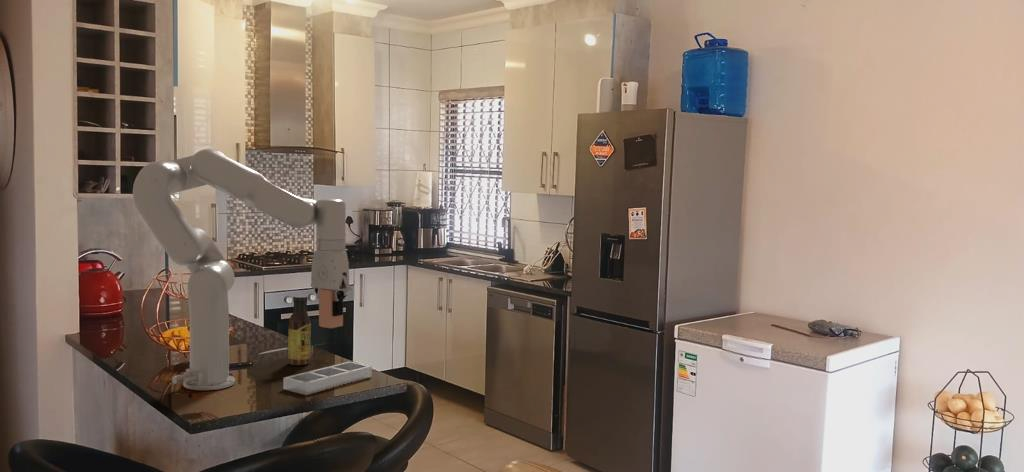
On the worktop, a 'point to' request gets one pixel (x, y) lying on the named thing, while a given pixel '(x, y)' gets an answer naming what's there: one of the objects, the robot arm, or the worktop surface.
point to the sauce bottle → (299, 333)
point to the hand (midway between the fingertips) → (330, 313)
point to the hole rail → (327, 378)
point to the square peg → (328, 310)
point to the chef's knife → (275, 350)
